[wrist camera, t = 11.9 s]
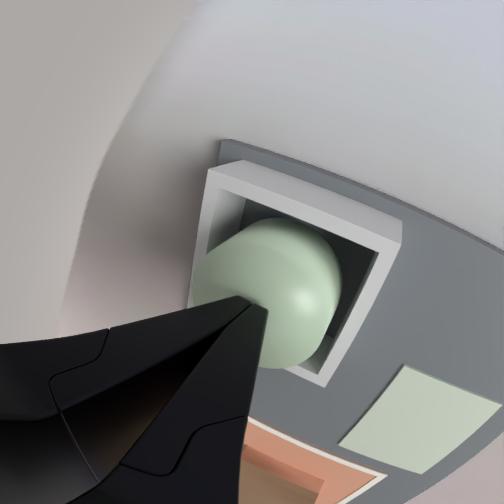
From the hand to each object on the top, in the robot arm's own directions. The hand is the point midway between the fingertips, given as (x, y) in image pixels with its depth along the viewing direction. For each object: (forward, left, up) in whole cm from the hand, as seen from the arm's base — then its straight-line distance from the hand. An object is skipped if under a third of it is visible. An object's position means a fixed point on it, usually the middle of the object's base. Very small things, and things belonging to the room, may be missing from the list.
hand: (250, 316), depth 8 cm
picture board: (-8, -4, -4) cm, 10 cm away
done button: (0, 0, -2) cm, 2 cm away
